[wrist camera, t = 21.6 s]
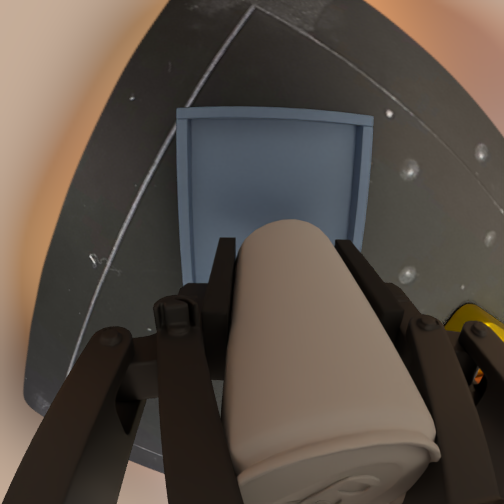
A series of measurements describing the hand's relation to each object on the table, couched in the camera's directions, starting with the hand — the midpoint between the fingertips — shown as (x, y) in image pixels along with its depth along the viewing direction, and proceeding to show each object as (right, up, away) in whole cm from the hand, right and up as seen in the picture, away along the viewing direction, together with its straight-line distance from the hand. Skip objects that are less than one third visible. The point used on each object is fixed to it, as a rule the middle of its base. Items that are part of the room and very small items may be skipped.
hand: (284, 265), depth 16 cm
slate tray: (0, +4, +9) cm, 10 cm away
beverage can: (0, 0, 0) cm, 1 cm away
